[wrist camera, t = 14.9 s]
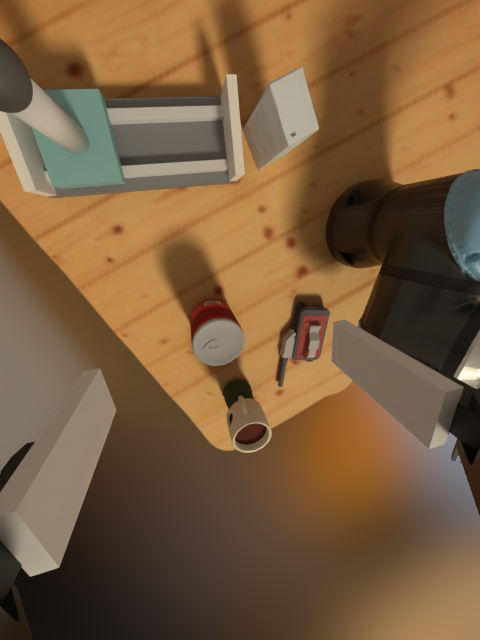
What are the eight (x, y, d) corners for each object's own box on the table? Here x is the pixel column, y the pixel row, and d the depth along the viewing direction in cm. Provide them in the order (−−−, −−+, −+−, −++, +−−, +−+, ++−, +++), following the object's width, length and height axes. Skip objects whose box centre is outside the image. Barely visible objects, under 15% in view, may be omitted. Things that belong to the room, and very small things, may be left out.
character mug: (215, 375, 50) (225, 421, 38) (247, 365, 51) (267, 407, 39) (226, 413, 54) (238, 465, 42) (256, 403, 55) (275, 452, 43)
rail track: (226, 103, 34) (236, 74, 27) (234, 183, 38) (244, 173, 31) (21, 108, 29) (-23, 75, 23) (54, 198, 33) (24, 191, 27)
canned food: (181, 318, 44) (180, 345, 34) (212, 289, 43) (221, 308, 33) (209, 344, 47) (217, 375, 37) (239, 317, 46) (255, 341, 36)
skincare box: (281, 158, 38) (320, 130, 27) (257, 170, 38) (288, 148, 27) (266, 114, 35) (303, 63, 24) (241, 127, 35) (267, 83, 24)
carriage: (104, 97, 28) (8, -60, 13) (125, 183, 32) (71, 142, 16) (29, 99, 27) (-180, -75, 11) (60, 188, 30) (-68, 148, 15)
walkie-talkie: (286, 299, 47) (273, 383, 54) (296, 306, 43) (280, 395, 50) (325, 300, 50) (307, 380, 57) (338, 306, 46) (317, 392, 52)
